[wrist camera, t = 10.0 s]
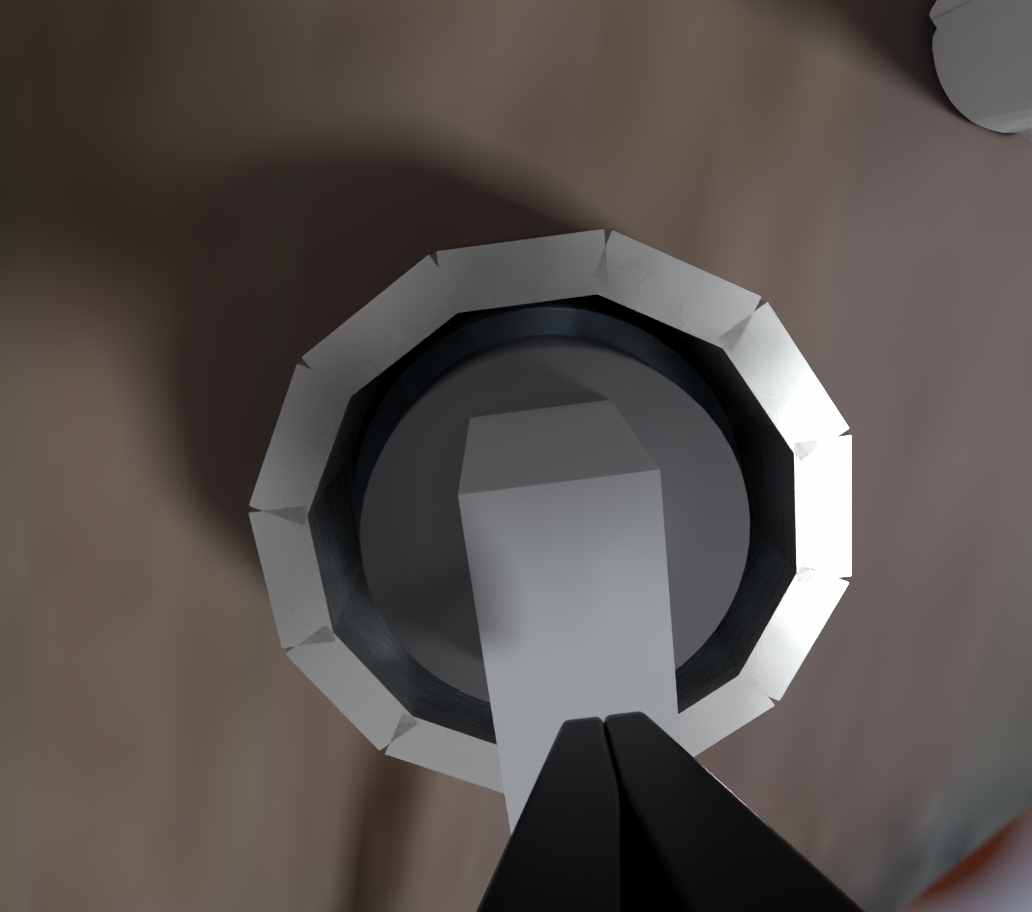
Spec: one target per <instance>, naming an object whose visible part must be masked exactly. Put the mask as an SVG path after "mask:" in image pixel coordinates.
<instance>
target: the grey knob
mask: <svg viewBox="0 0 1032 912" xmlns="http://www.w3.org/2000/svg"><path fill="white" fill-rule="evenodd" d="M749 535H750V514H749V505H748V496H747V492H746V488H745V484H744V480H743V476H742V472H741V470H740V467H739V465H738V463H737V460H736V458H735V456H734V453H733V451H732V449H731V447H730V445H729V444H728V442H727V440H726V439H725V437H724V435H723V434H722V432H721V430H720V429H719V427H718V426H717V425H716V424H715V422H714V421H713V420H712V419H711V417H710V416H709V415H708V414H707V413H706V411H705V410H704V409H703V408H702V407H701V406H700V405H699V404H698V403H697V402H696V401H694V400H693V399H692V398H691V397H690V396H689V395H688V394H687V393H686V392H685V391H684V390H682V389H681V388H680V387H678V386H677V385H676V384H675V383H673V382H672V381H671V380H670V379H668V378H667V377H666V376H665V375H663V374H662V373H661V372H660V371H658V370H657V369H655V368H654V367H652V366H651V365H650V364H648V363H647V362H645V361H644V360H642V359H641V358H639V357H637V356H635V355H633V354H631V353H629V352H627V351H625V350H623V349H621V348H619V347H616V346H613V345H610V344H607V343H604V342H601V341H598V340H593V339H589V338H584V337H579V336H571V335H556V334H547V335H531V336H524V337H519V338H514V339H509V340H504V341H501V342H498V343H495V344H492V345H489V346H487V347H484V348H481V349H479V350H477V351H475V352H473V353H471V354H469V355H467V356H465V357H463V358H461V359H459V360H458V361H456V362H455V363H453V364H452V365H450V366H449V367H448V368H446V369H445V370H443V371H442V372H440V373H439V374H438V375H437V376H436V377H435V378H434V379H433V380H431V381H430V382H429V383H428V384H427V385H426V386H425V387H424V388H423V389H422V390H421V391H420V392H419V394H418V395H417V396H416V397H415V398H414V399H413V401H412V402H411V403H410V404H409V406H408V407H407V409H406V410H405V412H404V413H403V415H402V416H401V418H400V419H399V421H398V423H397V424H396V426H395V428H394V430H393V431H392V433H391V435H390V437H389V439H388V440H387V442H386V444H385V446H384V448H383V449H382V451H381V454H380V456H379V458H378V460H377V462H376V464H375V466H374V469H373V471H372V473H371V476H370V479H369V483H368V486H367V489H366V493H365V496H364V502H363V508H362V514H361V525H360V546H361V554H362V562H363V569H364V572H365V576H366V580H367V583H368V587H369V591H370V593H371V595H372V597H373V600H374V602H375V604H376V607H377V609H378V611H379V613H380V615H381V617H382V618H383V620H384V622H385V623H386V625H387V626H388V628H389V630H390V631H391V633H392V634H393V635H394V637H395V638H396V639H397V640H398V642H399V643H400V644H401V645H402V647H403V648H404V649H405V650H406V651H407V652H408V653H409V654H410V655H411V656H412V657H413V658H414V659H415V660H416V661H417V662H418V663H419V664H420V665H421V666H423V667H424V668H425V669H427V670H428V671H429V672H431V673H432V674H433V675H435V676H436V677H437V678H439V679H440V680H442V681H444V682H445V683H447V684H449V685H451V686H452V687H454V688H456V689H458V690H459V691H461V692H464V693H466V694H468V695H471V696H473V697H476V698H478V699H480V700H483V701H486V702H490V703H491V710H492V716H493V723H494V729H495V735H496V742H497V748H498V755H499V761H500V767H501V774H502V780H503V786H504V793H505V799H506V806H507V812H508V818H509V825H510V831H511V834H512V832H513V830H514V828H515V826H516V824H517V821H518V819H519V817H520V815H521V813H522V810H523V808H524V806H525V804H526V802H527V799H528V797H529V795H530V793H531V791H532V788H533V786H534V784H535V782H536V780H537V777H538V775H539V773H540V771H541V769H542V766H543V764H544V762H545V760H546V758H547V755H548V753H549V751H550V749H551V747H552V744H553V742H554V740H555V738H556V736H557V733H558V731H559V729H560V727H561V725H562V723H563V722H564V721H566V720H570V719H578V718H586V717H595V716H596V717H599V718H601V719H602V720H603V723H604V719H605V717H606V716H608V715H611V714H619V713H627V712H635V711H640V712H643V713H645V714H646V715H647V716H648V717H649V718H651V719H652V720H653V721H654V722H655V723H656V724H657V725H658V726H659V727H661V728H662V729H663V730H664V731H665V732H666V733H667V734H668V735H669V736H671V737H672V738H673V739H674V740H675V741H676V742H677V743H678V744H679V745H680V733H679V719H678V705H677V692H676V678H675V670H676V669H677V668H678V667H680V666H681V665H683V664H684V663H685V662H686V661H687V660H688V659H689V658H690V657H691V656H692V655H693V654H694V653H695V652H696V651H698V650H699V649H700V648H701V647H702V645H703V644H704V643H705V642H706V641H707V639H708V638H709V637H710V636H711V634H712V633H713V632H714V631H715V630H716V628H717V627H718V625H719V623H720V622H721V620H722V619H723V617H724V616H725V614H726V612H727V611H728V609H729V607H730V605H731V603H732V601H733V598H734V596H735V594H736V592H737V590H738V587H739V584H740V581H741V578H742V575H743V572H744V568H745V565H746V559H747V553H748V547H749Z"/></svg>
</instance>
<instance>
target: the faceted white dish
mask: <svg viewBox="0 0 1032 912" xmlns="http://www.w3.org/2000/svg"><path fill="white" fill-rule="evenodd" d="M596 294H598V295H601V296H603V297H605V298H608V299H610V300H612V301H614V302H617V303H619V304H621V305H624V306H626V307H628V308H631V309H633V310H635V311H638V312H640V313H642V314H645V315H647V316H649V317H651V318H654V319H656V320H658V321H661V322H663V323H665V324H668V325H670V326H671V327H672V328H673V329H674V331H675V332H676V334H677V335H678V337H679V338H680V340H681V341H682V342H683V344H684V345H685V347H686V348H687V350H688V351H689V352H690V354H691V355H692V357H693V358H694V360H695V361H696V363H697V364H698V365H699V367H700V368H701V370H702V371H703V373H704V374H705V376H706V377H707V378H708V380H709V381H710V383H711V384H712V386H713V387H714V389H715V390H716V391H717V393H718V394H719V396H720V397H721V399H722V400H723V402H724V403H725V404H726V414H725V411H724V410H723V408H722V406H721V405H720V403H719V401H718V400H717V398H716V396H715V395H714V393H713V391H712V390H711V388H710V387H709V386H708V385H707V383H706V382H705V381H704V380H703V378H702V377H701V376H700V375H699V374H698V372H697V371H696V370H695V369H694V368H693V367H692V366H691V365H690V364H689V363H688V362H687V361H685V360H684V359H683V358H682V357H681V356H680V355H679V354H678V353H677V352H675V351H674V350H673V349H671V348H670V347H668V346H667V345H665V344H664V343H663V342H661V341H660V340H658V339H657V338H655V337H654V336H652V335H650V334H649V333H647V332H645V331H644V330H642V329H640V328H639V327H637V326H635V325H633V324H631V323H629V322H627V321H626V320H624V319H622V318H620V317H618V316H616V315H613V314H610V313H607V312H604V311H601V310H599V309H596V308H592V307H588V306H583V305H578V304H573V303H564V302H550V300H558V299H566V298H573V297H581V296H588V295H596ZM760 299H761V296H759V295H756V294H754V293H752V292H750V291H748V290H745V289H743V288H741V287H739V286H736V285H734V284H732V283H730V282H727V281H725V280H723V279H721V278H718V277H716V276H714V275H712V274H709V273H707V272H705V271H703V270H701V269H698V268H696V267H694V266H692V265H689V264H687V263H685V262H683V261H680V260H678V259H676V258H674V257H671V256H669V255H667V254H665V253H662V252H660V251H658V250H656V249H654V248H651V247H649V246H647V245H645V244H642V243H640V242H638V241H636V240H633V239H631V238H629V237H627V236H624V235H622V234H620V233H618V232H615V231H613V230H609V231H604V229H600V230H592V231H585V232H577V233H569V234H562V235H554V236H547V237H539V238H532V239H524V240H517V241H509V242H502V243H494V244H487V245H479V246H472V247H464V248H457V249H449V250H442V251H436V253H435V254H429V255H427V256H426V257H425V258H424V259H422V260H421V261H420V262H419V263H417V264H416V265H415V266H414V267H412V268H411V269H410V270H409V271H408V272H406V273H405V274H404V275H403V276H401V277H400V278H399V279H398V280H396V281H395V282H394V283H393V284H391V285H390V286H389V287H388V288H386V289H385V290H384V291H383V292H382V293H380V294H379V295H378V296H377V297H375V298H374V299H373V300H372V301H370V302H369V303H368V304H367V305H365V306H364V307H363V308H362V309H361V310H359V311H358V312H357V313H356V314H354V315H353V316H352V317H351V318H349V319H348V320H347V321H346V322H344V323H343V324H342V325H341V326H339V327H338V328H337V329H336V330H335V331H333V332H332V333H331V334H330V335H328V336H327V337H326V338H325V339H323V340H322V341H321V342H320V343H318V344H317V345H316V346H315V347H313V348H312V349H311V350H310V351H309V352H307V353H306V354H305V355H304V356H302V359H303V360H302V361H301V362H299V363H297V365H296V368H295V371H294V374H293V377H292V380H291V383H290V386H289V389H288V391H287V394H286V397H285V400H284V403H283V406H282V409H281V412H280V415H279V418H278V421H277V424H276V427H275V430H274V433H273V436H272V439H271V442H270V445H269V448H268V450H267V453H266V456H265V459H264V462H263V465H262V468H261V471H260V474H259V477H258V480H257V483H256V486H255V489H254V492H253V495H252V498H251V501H250V504H249V506H251V507H253V509H252V510H251V511H250V512H249V517H250V521H251V525H252V529H253V533H254V537H255V541H256V545H257V549H258V554H259V558H260V562H261V566H262V570H263V574H264V578H265V582H266V586H267V590H268V594H269V598H270V602H271V606H272V610H273V615H274V619H275V623H276V627H277V631H278V635H279V639H280V643H281V647H282V648H287V647H289V648H288V649H287V651H286V653H285V654H286V655H287V656H288V658H289V659H290V660H291V661H292V662H293V663H294V664H295V665H296V666H297V667H298V668H299V669H300V670H301V671H302V672H303V673H304V674H305V675H306V676H307V677H308V678H309V679H310V680H311V681H312V682H313V683H314V684H315V685H316V686H317V687H318V688H319V689H320V690H321V691H322V692H323V693H324V694H325V695H326V696H327V697H328V698H329V700H330V701H331V702H332V703H333V704H334V705H335V706H336V707H337V708H338V709H339V710H340V711H341V712H342V713H343V714H344V715H345V716H346V717H347V718H348V719H349V720H350V721H351V722H352V723H353V724H354V725H355V726H356V727H357V728H358V729H359V730H360V731H361V732H362V733H363V734H364V735H365V736H366V737H367V738H368V739H369V740H370V742H371V743H372V744H373V745H374V746H375V747H376V748H377V749H378V750H381V749H382V748H384V747H385V746H387V748H386V752H385V754H386V755H389V756H392V757H395V758H398V759H401V760H404V761H408V762H411V763H414V764H417V765H420V766H423V767H426V768H429V769H432V770H435V771H438V772H441V773H444V774H447V775H450V776H453V777H456V778H459V779H462V780H465V781H468V782H471V783H474V784H477V785H480V786H483V787H486V788H489V789H492V790H495V791H498V792H501V793H504V786H503V780H502V774H501V767H500V761H499V755H498V748H497V742H496V735H495V729H494V723H493V716H492V710H491V703H490V702H486V701H483V700H480V699H478V698H476V697H473V696H471V695H468V694H466V693H464V692H461V691H459V690H458V689H456V688H454V687H452V686H451V685H449V684H447V683H445V682H444V681H442V680H440V679H439V678H437V677H436V676H435V675H433V674H432V673H431V672H429V671H428V670H427V669H425V668H424V667H423V666H421V665H420V664H419V663H418V662H417V661H416V660H415V659H414V658H413V657H412V656H411V655H410V654H409V653H408V652H407V651H406V650H405V649H404V648H403V647H402V645H401V644H400V643H399V642H398V640H397V639H396V638H395V637H394V635H393V634H392V633H391V631H390V630H389V628H388V626H387V625H386V623H385V622H384V620H383V618H382V617H381V615H380V613H379V611H378V609H377V607H376V604H375V602H374V600H373V597H372V595H371V593H370V591H369V587H368V583H367V580H366V576H365V572H364V569H363V562H362V554H361V546H360V525H361V514H362V508H363V502H364V496H365V493H366V489H367V486H368V483H369V479H370V476H371V473H372V471H373V469H374V466H375V464H376V462H377V460H378V458H379V456H380V454H381V451H382V449H383V448H384V446H385V444H386V442H387V440H388V439H389V437H390V435H391V433H392V431H393V430H394V428H395V426H396V424H397V423H398V421H399V419H400V418H401V416H402V415H403V413H404V412H405V410H406V409H407V407H408V406H409V404H410V403H411V402H412V401H413V399H414V398H415V397H416V396H417V395H418V394H419V392H420V391H421V390H422V389H423V388H424V387H425V386H426V385H427V384H428V383H429V382H430V381H431V380H433V379H434V378H435V377H436V376H437V375H438V374H439V373H440V372H442V371H443V370H445V369H446V368H448V367H449V366H450V365H452V364H453V363H455V362H456V361H458V360H459V359H461V358H463V357H465V356H467V355H469V354H471V353H473V352H475V351H477V350H479V349H481V348H484V347H487V346H489V345H492V344H495V343H498V342H501V341H504V340H509V339H514V338H519V337H524V336H531V335H547V334H556V335H571V336H579V337H584V338H589V339H593V340H598V341H601V342H604V343H607V344H610V345H613V346H616V347H619V348H621V349H623V350H625V351H627V352H629V353H631V354H633V355H635V356H637V357H639V358H641V359H642V360H644V361H645V362H647V363H648V364H650V365H651V366H652V367H654V368H655V369H657V370H658V371H660V372H661V373H662V374H663V375H665V376H666V377H667V378H668V379H670V380H671V381H672V382H673V383H675V384H676V385H677V386H678V387H680V388H681V389H682V390H684V391H685V392H686V393H687V394H688V395H689V396H690V397H691V398H692V399H693V400H694V401H696V402H697V403H698V404H699V405H700V406H701V407H702V408H703V409H704V410H705V411H706V413H707V414H708V415H709V416H710V417H711V419H712V420H713V421H714V422H715V424H716V425H717V426H718V427H719V429H720V430H721V432H722V434H723V435H724V437H725V439H726V440H727V442H728V444H729V445H730V447H731V449H732V451H733V453H734V456H735V458H736V460H737V463H738V465H739V467H740V470H741V472H742V476H743V480H744V484H745V488H746V492H747V496H748V505H749V514H750V535H749V547H748V553H747V559H746V565H745V568H744V572H743V575H742V578H741V581H740V584H739V587H738V590H737V592H736V594H735V596H734V598H733V601H732V603H731V605H730V607H729V609H728V611H727V612H726V614H725V616H724V617H723V619H722V620H721V622H720V623H719V625H718V627H717V628H716V630H715V631H714V632H713V633H712V634H711V636H710V637H709V638H708V639H707V641H706V642H705V643H704V644H703V645H702V647H701V648H700V649H699V650H698V651H696V652H695V653H694V654H693V655H692V656H691V657H690V658H689V659H688V660H687V661H686V662H685V663H684V664H683V665H681V666H680V667H678V668H677V669H676V670H675V678H676V692H677V705H678V719H679V733H680V745H681V746H682V747H683V748H684V749H685V750H686V751H687V752H688V753H689V754H691V755H692V756H693V757H694V756H696V755H697V754H699V753H700V752H702V751H704V750H705V749H707V748H708V747H710V746H712V745H713V744H715V743H716V742H718V741H719V740H721V739H723V738H724V737H726V736H727V735H729V734H731V733H732V732H734V731H735V730H737V729H738V728H740V727H742V726H743V725H745V724H746V723H748V722H750V721H751V720H753V719H754V718H756V717H757V716H759V715H761V714H762V713H764V712H765V711H767V710H769V709H770V708H772V707H773V706H775V705H774V703H773V702H772V700H771V698H774V699H776V700H779V701H780V699H781V698H782V696H783V694H784V692H785V691H786V689H787V687H788V686H789V684H790V682H791V681H792V679H793V677H794V675H795V674H796V672H797V670H798V669H799V667H800V665H801V664H802V662H803V660H804V659H805V657H806V655H807V653H808V652H809V650H810V648H811V647H812V645H813V643H814V642H815V640H816V638H817V637H818V635H819V633H820V631H821V630H822V628H823V626H824V625H825V623H826V621H827V620H828V618H829V616H830V614H831V613H832V611H833V609H834V608H835V606H836V604H837V603H838V601H839V599H840V598H841V596H842V594H843V592H844V591H845V589H846V587H847V586H848V584H849V582H848V581H847V580H846V579H845V578H844V577H848V576H851V435H850V434H848V433H846V432H845V431H846V430H847V429H849V427H848V425H847V424H846V422H845V421H844V419H843V418H842V416H841V415H840V413H839V412H838V410H837V408H836V407H835V405H834V404H833V402H832V401H831V399H830V398H829V396H828V395H827V393H826V391H825V390H824V388H823V387H822V385H821V384H820V382H819V381H818V379H817V378H816V376H815V374H814V373H813V371H812V370H811V368H810V367H809V365H808V364H807V362H806V361H805V359H804V357H803V356H802V354H801V353H800V351H799V350H798V348H797V347H796V345H795V344H794V342H793V341H792V339H791V337H790V336H789V334H788V333H787V331H786V330H785V328H784V327H783V325H782V324H781V322H780V320H779V319H778V317H777V316H776V314H775V313H774V311H773V310H772V308H771V307H770V305H769V303H768V302H766V301H761V300H760ZM497 307H499V308H497ZM490 308H496V309H493V310H490V311H487V312H484V313H481V314H478V315H475V316H473V317H471V318H469V319H467V320H465V321H463V322H461V323H459V324H457V325H455V326H454V327H452V328H451V329H449V330H448V331H446V332H445V333H443V334H442V335H440V336H439V337H438V338H436V339H435V340H434V341H432V342H431V343H430V344H429V345H428V346H427V347H426V348H425V349H424V350H422V351H421V352H420V353H419V354H418V355H417V356H416V357H415V358H414V360H413V361H412V362H411V363H410V364H409V365H408V367H407V368H406V369H405V370H404V371H403V373H402V374H401V375H400V377H399V378H398V379H397V381H396V382H395V383H394V385H393V386H392V387H391V389H390V390H389V392H388V393H387V395H386V396H385V398H384V400H383V401H382V403H381V404H380V406H379V407H378V409H377V411H376V412H375V414H374V417H373V419H372V421H371V423H370V425H369V428H368V430H367V432H366V434H365V437H364V440H363V444H362V447H361V450H360V454H359V457H358V462H357V469H356V475H355V472H354V467H353V462H352V457H351V452H352V449H353V446H354V444H355V441H356V438H357V436H358V433H359V430H360V428H361V425H362V422H363V419H364V417H365V414H366V411H367V409H368V406H369V403H370V401H371V398H372V395H373V393H374V390H375V387H376V384H377V382H378V379H379V376H380V374H381V373H382V372H383V371H384V370H386V369H387V368H388V367H389V366H391V365H392V364H393V363H394V362H396V361H397V360H398V359H400V358H401V357H402V356H403V355H405V354H406V353H407V352H408V351H410V350H411V349H412V348H414V347H415V346H416V345H417V344H419V343H420V342H421V341H422V340H424V339H425V338H426V337H428V336H429V335H430V334H431V333H433V332H434V331H435V330H436V329H438V328H439V327H440V326H441V325H443V324H444V323H445V322H447V321H448V320H449V319H450V318H452V317H453V316H454V315H455V314H457V313H459V312H467V311H475V310H482V309H490ZM770 697H771V698H770ZM504 794H505V793H504Z"/></svg>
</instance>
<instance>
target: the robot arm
mask: <svg viewBox="0 0 1032 912" xmlns="http://www.w3.org/2000/svg"><path fill="white" fill-rule="evenodd" d="M476 912H865V911H864V910H863V909H862V908H861V907H860V906H858V905H857V904H856V903H855V902H854V901H853V900H852V899H851V898H850V897H848V896H847V895H846V894H845V893H844V892H843V891H842V890H841V889H840V888H838V887H837V886H836V885H835V884H834V883H833V882H832V881H831V880H830V879H828V878H827V877H826V876H825V875H824V874H823V873H822V872H821V871H820V870H818V869H817V868H816V867H815V866H814V865H813V864H812V863H811V862H810V861H808V860H807V859H806V858H805V857H804V856H803V855H802V854H801V853H800V852H798V851H797V850H796V849H795V848H794V847H793V846H792V845H791V844H790V843H788V842H787V841H786V840H785V839H784V838H783V837H782V836H781V835H780V834H778V833H777V832H776V831H775V830H774V829H773V828H772V827H771V826H769V825H768V824H767V823H766V822H765V821H764V820H763V819H762V818H761V817H759V816H758V815H757V814H756V813H755V812H754V811H753V810H752V809H751V808H749V807H748V806H747V805H746V804H745V803H744V802H743V801H742V800H741V799H739V798H738V797H737V796H736V795H735V794H734V793H733V792H732V791H731V790H729V789H728V788H727V787H726V786H725V785H724V784H723V783H722V782H721V781H719V780H718V779H717V778H716V777H715V776H714V775H713V774H712V773H711V772H709V771H708V770H707V769H706V768H705V767H704V766H703V765H702V764H701V763H699V762H698V761H697V760H696V759H695V758H694V757H693V756H692V755H691V754H689V753H688V752H687V751H686V750H685V749H684V748H683V747H682V746H681V745H679V744H678V743H677V742H676V741H675V740H674V739H673V738H672V737H671V736H669V735H668V734H667V733H666V732H665V731H664V730H663V729H662V728H661V727H659V726H658V725H657V724H656V723H655V722H654V721H653V720H652V719H651V718H649V717H648V716H647V715H646V714H645V713H643V712H640V711H635V712H627V713H619V714H611V715H608V716H606V717H605V719H604V723H603V720H602V719H601V718H599V717H596V716H595V717H586V718H578V719H570V720H566V721H564V722H563V723H562V725H561V727H560V729H559V731H558V733H557V736H556V738H555V740H554V742H553V744H552V747H551V749H550V751H549V753H548V755H547V758H546V760H545V762H544V764H543V766H542V769H541V771H540V773H539V775H538V777H537V780H536V782H535V784H534V786H533V788H532V791H531V793H530V795H529V797H528V799H527V802H526V804H525V806H524V808H523V810H522V813H521V815H520V817H519V819H518V821H517V824H516V826H515V828H514V830H513V832H512V834H511V837H510V839H509V841H508V843H507V845H506V848H505V850H504V852H503V854H502V856H501V859H500V861H499V863H498V865H497V867H496V870H495V872H494V874H493V876H492V878H491V881H490V883H489V885H488V887H487V889H486V892H485V894H484V896H483V898H482V900H481V903H480V905H479V907H478V909H477V911H476Z"/></svg>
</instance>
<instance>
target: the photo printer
mask: <svg viewBox="0 0 1032 912" xmlns="http://www.w3.org/2000/svg"><path fill="white" fill-rule="evenodd" d="M929 16H930V18H931V20H932V21H933V23H934V24H935V26H936V27H937V29H936V31H935V33H934V36H933V41H932V50H933V56H934V62H935V67H936V72H937V75H938V78H939V80H940V83H941V85H942V87H943V89H944V91H945V93H946V95H947V96H948V98H949V99H950V101H951V102H952V103H953V105H954V106H955V107H956V108H957V109H958V110H959V111H960V112H961V113H962V114H963V115H965V116H966V117H967V118H968V119H969V120H970V121H971V122H973V123H975V124H977V125H979V126H982V127H984V128H987V129H990V130H994V131H997V132H1001V133H1021V134H1022V135H1023V136H1024V137H1025V138H1026V140H1027V141H1028V142H1029V143H1031V144H1032V0H937V1H936V2H935V4H934V6H933V7H932V9H931V11H930V14H929Z"/></svg>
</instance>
